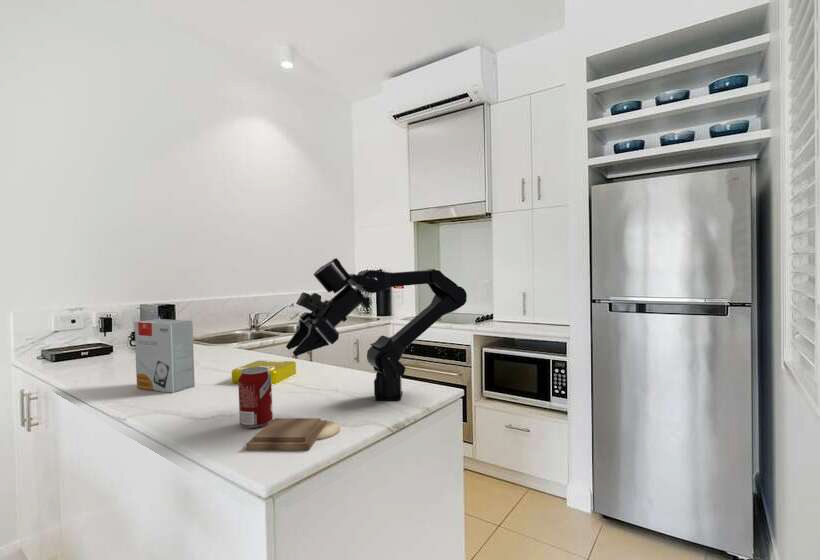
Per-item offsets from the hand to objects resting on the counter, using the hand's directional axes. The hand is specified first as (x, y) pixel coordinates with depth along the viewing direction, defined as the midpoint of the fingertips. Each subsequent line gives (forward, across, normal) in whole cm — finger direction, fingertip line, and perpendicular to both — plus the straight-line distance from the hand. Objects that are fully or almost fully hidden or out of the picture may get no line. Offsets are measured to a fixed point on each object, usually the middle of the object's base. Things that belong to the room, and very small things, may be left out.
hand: (290, 351), depth 97 cm
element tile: (+11, -38, +11) cm, 41 cm away
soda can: (+16, +3, +7) cm, 17 cm away
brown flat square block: (+12, +14, +10) cm, 21 cm away
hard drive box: (+32, -43, -6) cm, 54 cm away
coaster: (+7, +14, +13) cm, 20 cm away
